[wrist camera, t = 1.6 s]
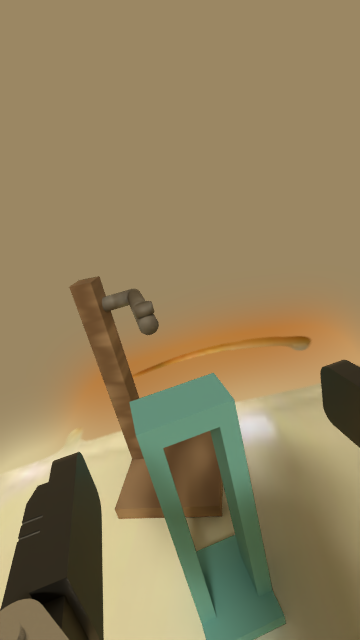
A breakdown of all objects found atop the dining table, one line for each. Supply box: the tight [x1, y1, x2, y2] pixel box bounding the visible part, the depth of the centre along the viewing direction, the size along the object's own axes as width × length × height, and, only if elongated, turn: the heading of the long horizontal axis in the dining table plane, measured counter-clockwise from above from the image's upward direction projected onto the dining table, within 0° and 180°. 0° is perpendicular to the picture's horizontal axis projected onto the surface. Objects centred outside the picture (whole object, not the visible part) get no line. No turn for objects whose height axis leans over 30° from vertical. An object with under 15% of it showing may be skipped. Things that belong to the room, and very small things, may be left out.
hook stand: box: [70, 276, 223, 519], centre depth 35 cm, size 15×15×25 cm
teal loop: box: [129, 373, 286, 640], centre depth 24 cm, size 6×7×20 cm
